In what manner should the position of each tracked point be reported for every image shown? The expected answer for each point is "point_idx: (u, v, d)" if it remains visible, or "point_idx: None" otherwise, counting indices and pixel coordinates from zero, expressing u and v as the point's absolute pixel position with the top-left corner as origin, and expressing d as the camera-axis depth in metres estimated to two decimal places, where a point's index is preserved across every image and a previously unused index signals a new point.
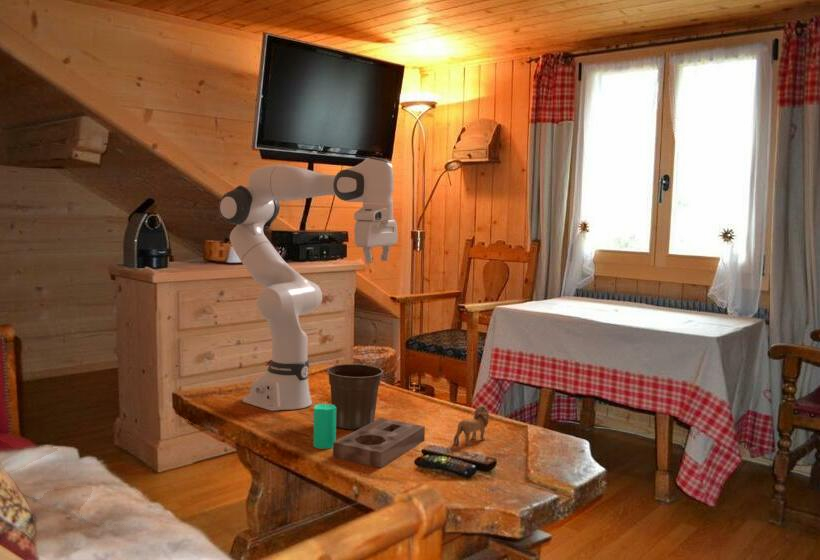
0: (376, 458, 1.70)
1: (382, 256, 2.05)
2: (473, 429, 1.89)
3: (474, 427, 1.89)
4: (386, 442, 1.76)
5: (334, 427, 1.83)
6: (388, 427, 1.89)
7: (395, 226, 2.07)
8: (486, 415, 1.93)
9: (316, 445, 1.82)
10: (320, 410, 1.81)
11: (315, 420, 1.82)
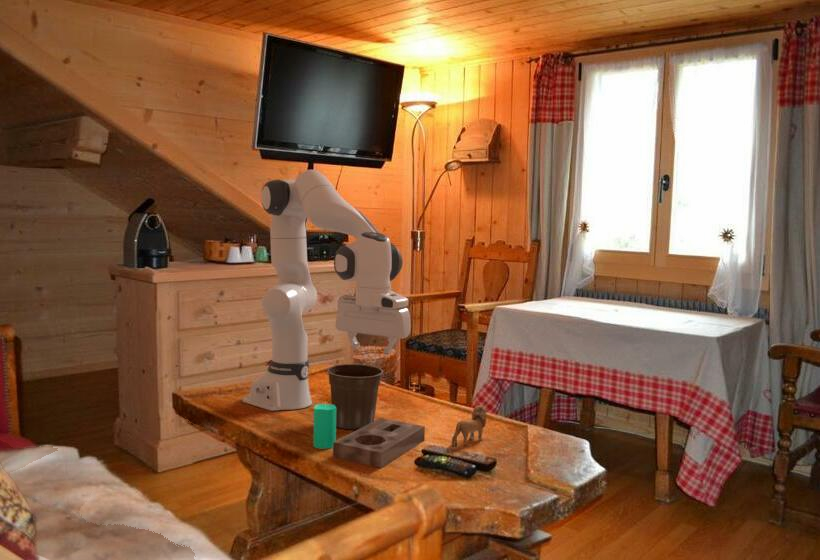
0: (376, 458, 1.70)
1: (357, 345, 1.77)
2: (471, 430, 1.89)
3: (472, 427, 1.89)
4: (386, 442, 1.76)
5: (334, 427, 1.83)
6: (388, 427, 1.89)
7: None
8: (484, 416, 1.92)
9: (316, 445, 1.82)
10: (320, 410, 1.81)
11: (315, 420, 1.82)
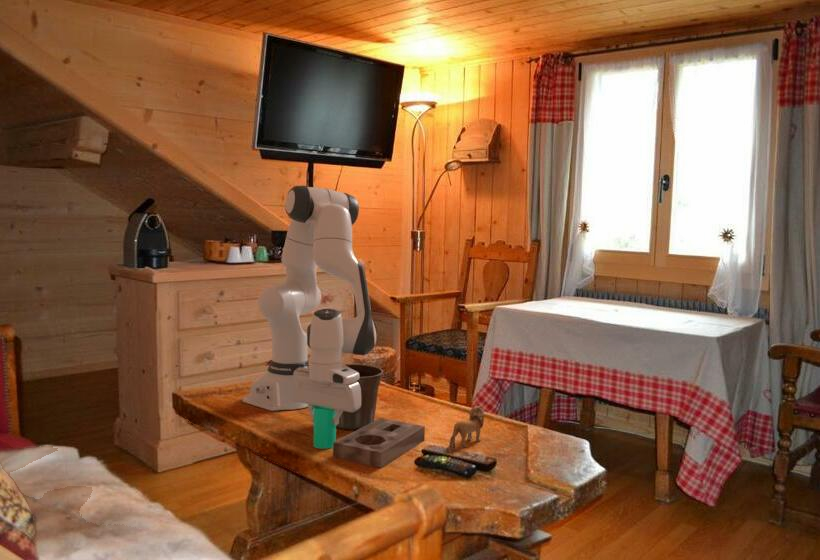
0: (376, 458, 1.70)
1: None
2: (469, 430, 1.88)
3: (470, 428, 1.88)
4: (386, 442, 1.76)
5: (334, 427, 1.83)
6: (388, 427, 1.89)
7: None
8: (481, 416, 1.91)
9: (316, 445, 1.82)
10: (320, 410, 1.81)
11: (315, 420, 1.82)
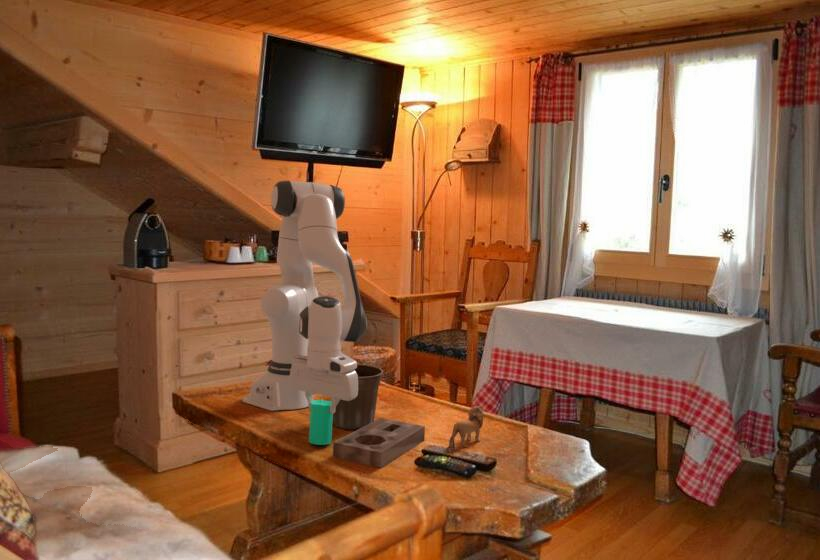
0: (376, 458, 1.70)
1: None
2: (468, 431, 1.88)
3: (470, 428, 1.88)
4: (386, 442, 1.76)
5: (330, 423, 1.83)
6: (388, 427, 1.89)
7: None
8: (481, 416, 1.91)
9: (311, 441, 1.82)
10: (316, 406, 1.81)
11: (311, 415, 1.82)
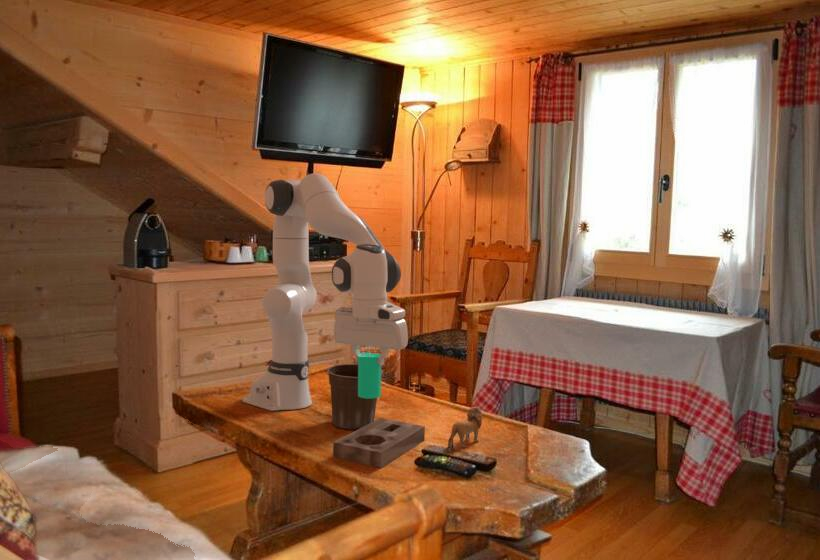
0: (376, 458, 1.70)
1: None
2: (467, 431, 1.87)
3: (469, 429, 1.87)
4: (386, 442, 1.76)
5: (379, 376, 1.75)
6: (388, 427, 1.89)
7: None
8: (479, 417, 1.91)
9: (361, 395, 1.75)
10: (365, 358, 1.73)
11: (360, 369, 1.74)
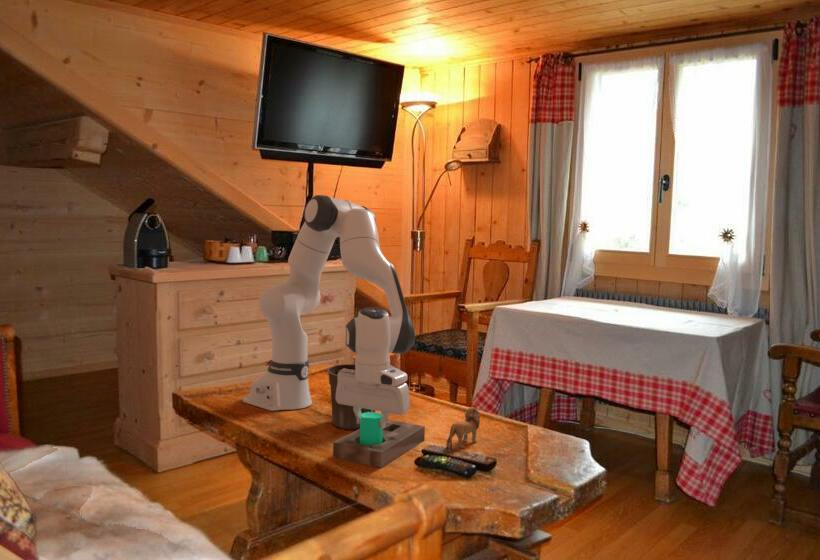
0: (376, 458, 1.70)
1: None
2: (465, 432, 1.87)
3: (467, 429, 1.87)
4: (386, 442, 1.76)
5: (381, 436, 1.77)
6: (388, 427, 1.89)
7: None
8: (477, 417, 1.90)
9: None
10: (367, 419, 1.75)
11: (361, 429, 1.76)
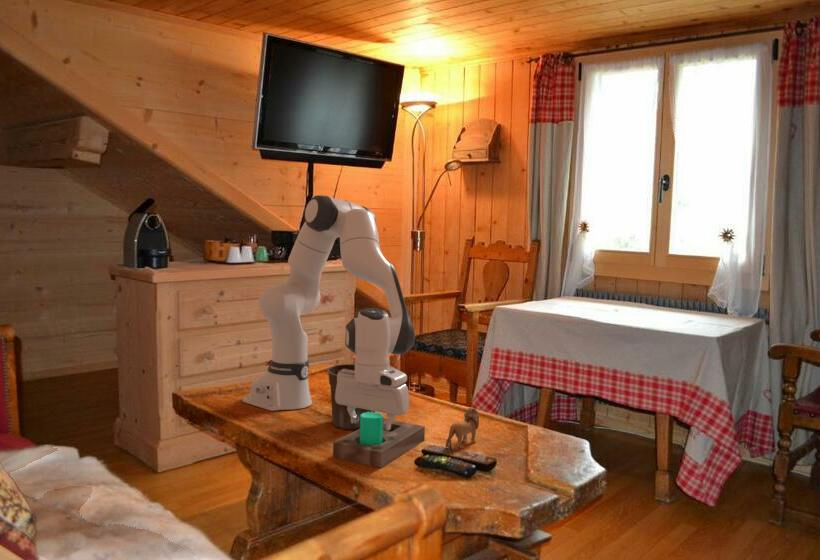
0: (376, 458, 1.70)
1: (356, 419, 1.79)
2: (465, 432, 1.86)
3: (466, 429, 1.86)
4: (386, 442, 1.76)
5: (381, 436, 1.77)
6: None
7: None
8: (477, 417, 1.90)
9: None
10: (367, 419, 1.75)
11: (361, 429, 1.76)
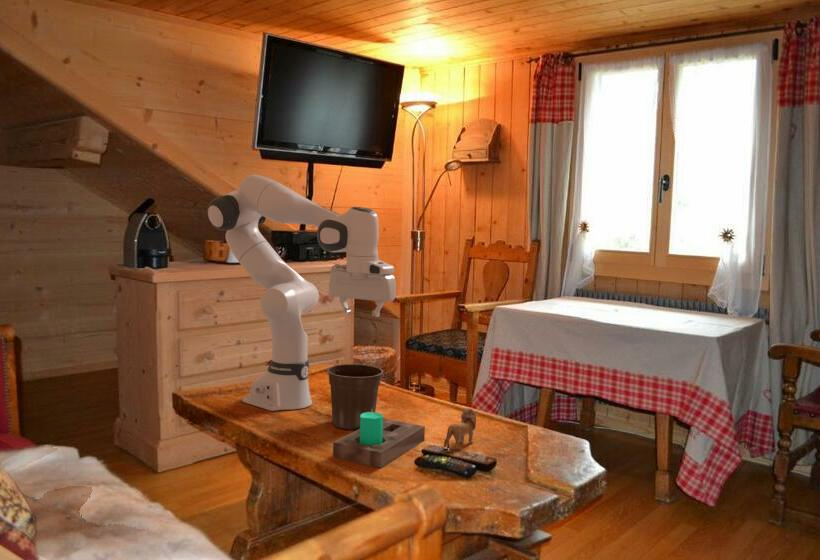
0: (376, 458, 1.70)
1: (348, 309, 1.96)
2: (462, 433, 1.86)
3: (464, 430, 1.86)
4: (386, 442, 1.76)
5: (381, 436, 1.77)
6: (388, 427, 1.89)
7: None
8: (474, 418, 1.89)
9: None
10: (367, 419, 1.75)
11: (361, 429, 1.76)
